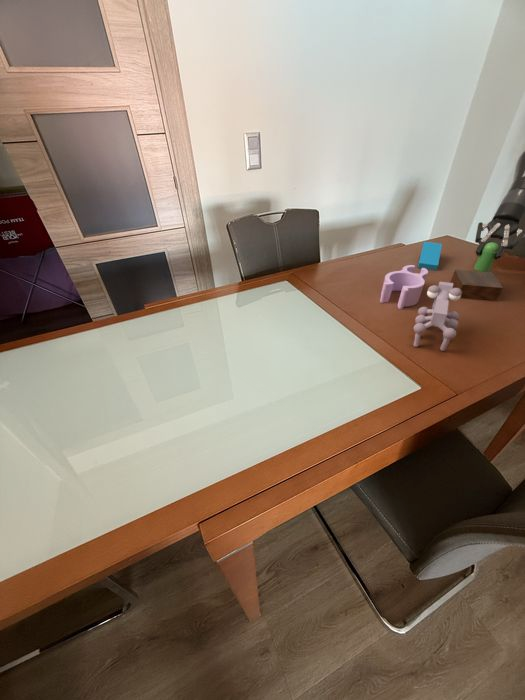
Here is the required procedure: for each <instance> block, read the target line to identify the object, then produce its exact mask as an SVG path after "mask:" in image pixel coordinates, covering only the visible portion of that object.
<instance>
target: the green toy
mask: <svg viewBox="0 0 525 700" xmlns="http://www.w3.org/2000/svg"><path fill="white" fill-rule="evenodd" d="M499 249H500V247H499V245H498V243H497V242H493V241H492V242H488V243H485V244H484V247H483V248H482V250H481V253H480V255H479V256H478V257H477V260H476V262H475V264H474V267H473V269H474V271H481V272H490V270H491V269H492V267H493V264H494V262H495V260H496V259H495V256H496V254H497V253H498V251H499Z"/></svg>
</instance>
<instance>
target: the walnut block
mask: <svg viewBox="0 0 525 700" xmlns="http://www.w3.org/2000/svg"><path fill="white" fill-rule="evenodd" d="M449 283H453V288H459V289H460V290H461V291H462V294H461V297H460V299H467V300H468V299H469V300H479V301H481V300H482V301H490V302H491V301H493V302H497V301H498V299H499V297H500V295H501V294H502V292H503V290H504V287H503V286H502V284H501V283H500V281H499V280H498V278H497V277H496V276H495V274H494V273H493V272H492V271H488V272H481V271H478V270H467V269H454V271H453V273H452V276H451V279H450V281H449ZM453 288H452V289H453Z"/></svg>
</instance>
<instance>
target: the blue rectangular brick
mask: <svg viewBox="0 0 525 700" xmlns="http://www.w3.org/2000/svg"><path fill="white" fill-rule="evenodd" d="M442 246H443V244H442V243H439V242H429V241H423V244H422V246H421V247H422V248H421V252H420V256H419V261H418V265H417V268H418V269H422V268H425V269H427V270H431V271H437V269H438V267H439V262H440V257H441V252H442Z"/></svg>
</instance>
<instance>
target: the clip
mask: <svg viewBox="0 0 525 700" xmlns="http://www.w3.org/2000/svg"><path fill="white" fill-rule="evenodd" d="M415 268H416V265H414V264H409V265H404V266H403V267H402V269H401V270H394V271H390V272H388V273H387V274H386V275H385V276H384V279H383V284H382V287H381V293H380V299H379V302H380V303H381V304H382V303H388V302H390V299H391V295H392V292H393V291H399V292H400V295H399V298H398V302H397V308H398V309H399V310H403V309H404V307H412V306H415V305H416V304H418V303H419V301H420V298H421V295H422V291H423V289H424V286H425V282H426V279H427V277H428V273H429V271H428V270H429V269H425V268H420V272H419V273H416V272H415Z"/></svg>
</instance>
